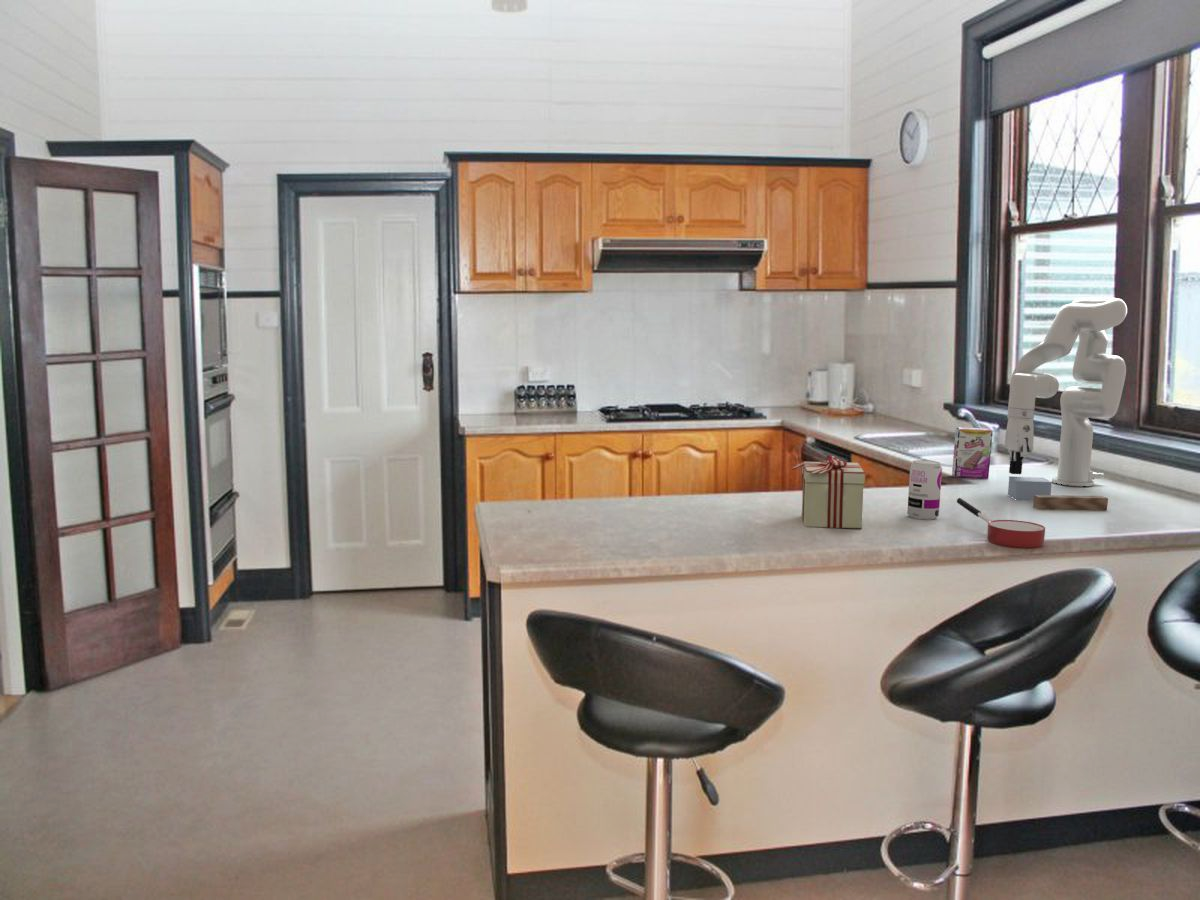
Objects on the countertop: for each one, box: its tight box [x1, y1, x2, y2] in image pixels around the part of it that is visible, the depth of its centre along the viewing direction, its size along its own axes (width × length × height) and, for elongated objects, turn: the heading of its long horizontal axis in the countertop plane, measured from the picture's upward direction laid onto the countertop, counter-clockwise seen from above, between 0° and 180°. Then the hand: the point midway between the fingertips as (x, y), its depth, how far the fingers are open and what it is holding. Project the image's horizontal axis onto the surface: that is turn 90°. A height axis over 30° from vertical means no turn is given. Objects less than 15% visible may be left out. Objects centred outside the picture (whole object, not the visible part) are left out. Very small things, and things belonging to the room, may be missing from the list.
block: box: [1007, 475, 1053, 502], centre depth 327 cm, size 10×8×6 cm
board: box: [1032, 494, 1109, 511], centre depth 312 cm, size 20×4×4 cm, turn 93°
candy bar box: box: [951, 426, 994, 480], centre depth 362 cm, size 11×5×16 cm, turn 84°
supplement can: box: [906, 459, 943, 521], centre depth 294 cm, size 8×8×15 cm
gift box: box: [790, 454, 866, 529], centre depth 283 cm, size 17×18×17 cm
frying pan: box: [956, 497, 1046, 549], centre depth 275 cm, size 32×13×6 cm, turn 19°
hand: (1015, 473), depth 335 cm, fingers closed
